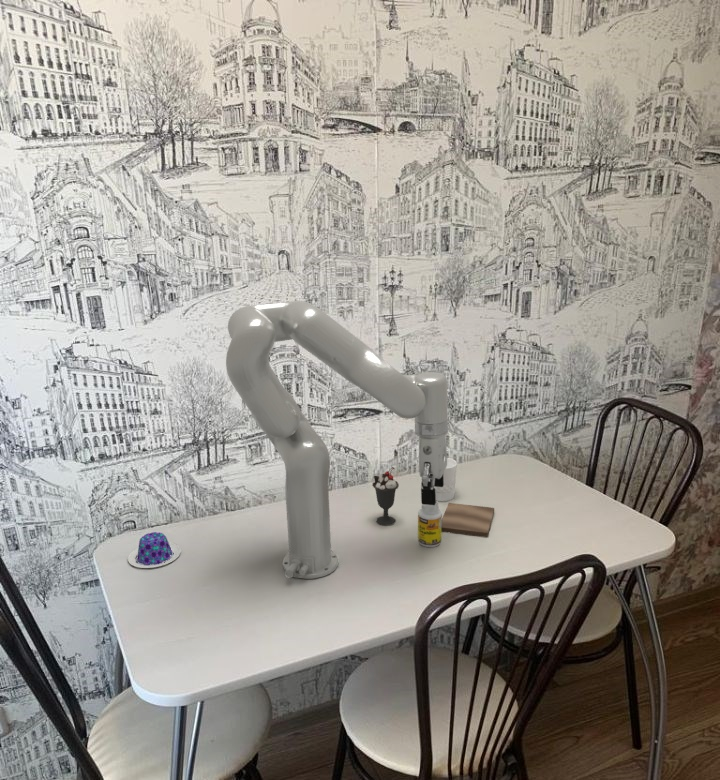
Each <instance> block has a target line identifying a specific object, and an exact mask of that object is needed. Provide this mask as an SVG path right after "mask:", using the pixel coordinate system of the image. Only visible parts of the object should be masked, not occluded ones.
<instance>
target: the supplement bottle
mask: <svg viewBox="0 0 720 780" xmlns="http://www.w3.org/2000/svg"><path fill="white" fill-rule="evenodd" d="M442 518H443V513H442V510H440V509H439V503H438V501H436V504H435V505H426V504H422V503H421V508H420V509H419V510H418V513H417V540H418V543H419V544H420V545H421V546H423V547H427V548H435V547H437V546H439V545H440V544H441V542H442V532H441V526H442Z"/></svg>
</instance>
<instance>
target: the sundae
mask: <svg viewBox="0 0 720 780" xmlns="http://www.w3.org/2000/svg"><path fill="white" fill-rule="evenodd" d="M394 469H395V467H393V466H391V468H390V469H389V470H388V471H385V473H382V474H381V475H380V476H379V475H374V476H373V480H374V482H372V485H371V486H372V488H374V489H375V494H376V495H375V496H376V501H377V505H378V507H380V508H381V509H383V514H382V516H379V517H377V519H376V520H375V521H376V523H377V524H378V525H381V526H391V525H393V524H395V523H396V519H395V518H394V517H393V516H389V509H391V508H392V507H393V506H394V504H395V503H394V502H395V497H396V491H397V489H399V483H398V481H396V480H395V479H394V475H392V474H391V473H392V470H394Z"/></svg>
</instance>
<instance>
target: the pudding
mask: <svg viewBox="0 0 720 780" xmlns="http://www.w3.org/2000/svg"><path fill="white" fill-rule="evenodd" d="M170 546H171V547H170ZM171 548H173V549H174V556H173V554H172V553H173V552H172V550H171ZM181 549H182V548H181V547H180V546H179V545H178V544H176V543H174V542H170V541H168V538H167V536H166V535H165V534H164V533H163V532H156V531H155V532H154V531H153V532H151V533H149V532H148V533H146V534H144V535H143V536H141V538H140V539H139V543H138V546H137V548H135V549H134V550H132V551H131V552H130V553H129V555H128V557H127V561H128V563H129V564H130V565H131V566H134V567H136V568H139V569H140V568H141V569H142V568H143V569H149V568H150V569H151V568H157V567H161V566H165V565H167V564H169V563H171V562H173V561H175V560H176V559H177V558H178V557H179V556H180V555H181V553H182V552H181V551H182V550H181ZM137 550H138V555H137V557H138V558H136V561H138V562H139V564H142V565H139V564H136V563H134V561H133V559H132V557H133V555H134V554H135V553H136V552H137ZM170 555H171V556H170ZM172 556H173V557H172ZM171 557H172V558H171ZM170 558H171V559H170ZM169 559H170V560H169ZM166 560H167V561H166ZM164 562H165V563H164ZM161 563H162V564H161ZM143 564H144V565H150V564H151V565H154V566H144V565H143ZM157 564H158V565H157Z"/></svg>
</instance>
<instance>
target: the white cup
mask: <svg viewBox="0 0 720 780" xmlns="http://www.w3.org/2000/svg"><path fill="white" fill-rule="evenodd" d="M457 464H458V461H456V460H455V459H453V458H451V457H450V458H449V457H447V466H446V469H445V471H444V473H443V477H444V485H443V487H435V486H434V488H435V494H436V502H449V501H452V500H453V499H454V498H455V489H456V479H457V466H458V465H457ZM429 475H430V474H429ZM429 481H430V479H429Z"/></svg>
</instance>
